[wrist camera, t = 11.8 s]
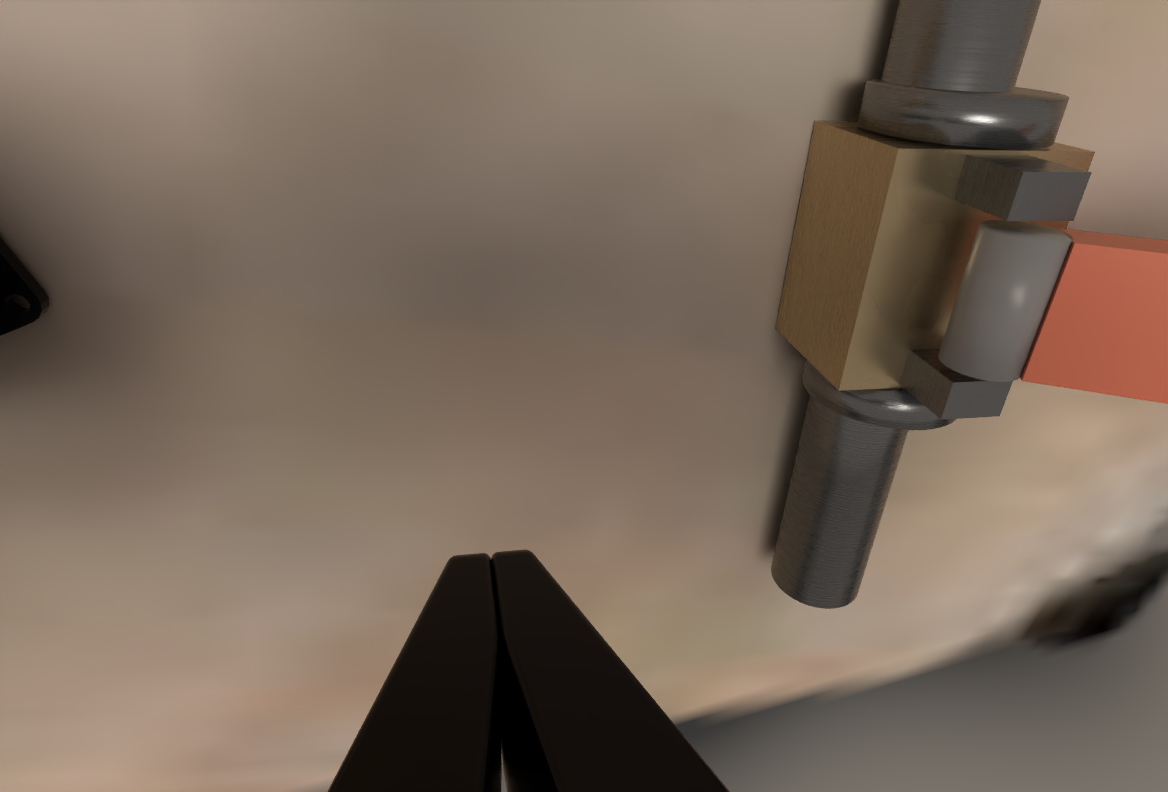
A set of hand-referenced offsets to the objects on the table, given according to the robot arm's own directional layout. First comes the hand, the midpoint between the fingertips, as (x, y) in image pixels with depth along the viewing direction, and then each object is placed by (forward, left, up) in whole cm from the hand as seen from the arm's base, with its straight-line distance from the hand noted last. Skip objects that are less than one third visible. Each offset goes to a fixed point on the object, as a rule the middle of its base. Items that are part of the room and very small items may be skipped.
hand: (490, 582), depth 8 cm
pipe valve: (+5, +11, -13) cm, 18 cm away
